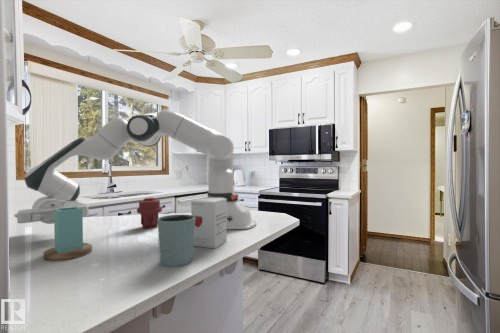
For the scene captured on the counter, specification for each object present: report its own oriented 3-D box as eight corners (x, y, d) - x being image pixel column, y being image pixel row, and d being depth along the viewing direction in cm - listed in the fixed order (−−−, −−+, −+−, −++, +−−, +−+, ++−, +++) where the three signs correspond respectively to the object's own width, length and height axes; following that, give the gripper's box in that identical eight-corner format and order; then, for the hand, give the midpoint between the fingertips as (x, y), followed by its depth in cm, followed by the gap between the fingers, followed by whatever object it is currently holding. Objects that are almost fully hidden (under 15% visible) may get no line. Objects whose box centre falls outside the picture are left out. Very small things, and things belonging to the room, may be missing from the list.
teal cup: (155, 269, 68) (154, 222, 68) (160, 256, 78) (159, 214, 78) (195, 266, 70) (195, 220, 70) (196, 253, 80) (195, 213, 80)
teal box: (77, 244, 85) (77, 206, 85) (83, 248, 81) (82, 208, 81) (54, 248, 81) (54, 209, 81) (58, 253, 77) (58, 211, 77)
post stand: (100, 249, 85) (100, 222, 85) (65, 262, 74) (65, 231, 74) (71, 246, 88) (70, 220, 88) (33, 258, 77) (32, 229, 77)
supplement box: (190, 246, 88) (190, 200, 87) (204, 238, 96) (203, 196, 96) (215, 249, 84) (215, 201, 84) (227, 241, 93) (227, 197, 93)
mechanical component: (144, 224, 121) (165, 224, 120) (132, 229, 111) (155, 230, 110) (144, 196, 120) (165, 196, 119) (132, 199, 111) (155, 199, 110)
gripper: (13, 205, 91) (17, 210, 82) (82, 199, 106) (93, 203, 96) (13, 224, 91) (17, 231, 82) (82, 215, 106) (93, 221, 96)
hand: (59, 216), depth 89 cm, fingers open, 8 cm apart
